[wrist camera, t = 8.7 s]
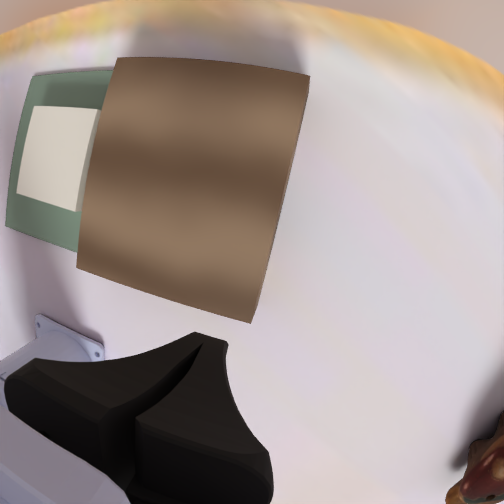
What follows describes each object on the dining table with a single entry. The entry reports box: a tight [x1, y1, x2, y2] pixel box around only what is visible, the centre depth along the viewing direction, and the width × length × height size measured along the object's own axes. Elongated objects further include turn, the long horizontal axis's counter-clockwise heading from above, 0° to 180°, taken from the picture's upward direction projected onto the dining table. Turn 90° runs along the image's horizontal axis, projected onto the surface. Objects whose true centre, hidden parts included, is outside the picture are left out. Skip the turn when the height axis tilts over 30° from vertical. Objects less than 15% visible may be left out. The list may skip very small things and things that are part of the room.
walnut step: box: [76, 57, 310, 324], centre depth 18 cm, size 14×12×3 cm
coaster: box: [16, 106, 101, 212], centre depth 19 cm, size 7×7×2 cm
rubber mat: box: [5, 70, 113, 252], centre depth 21 cm, size 14×12×1 cm
